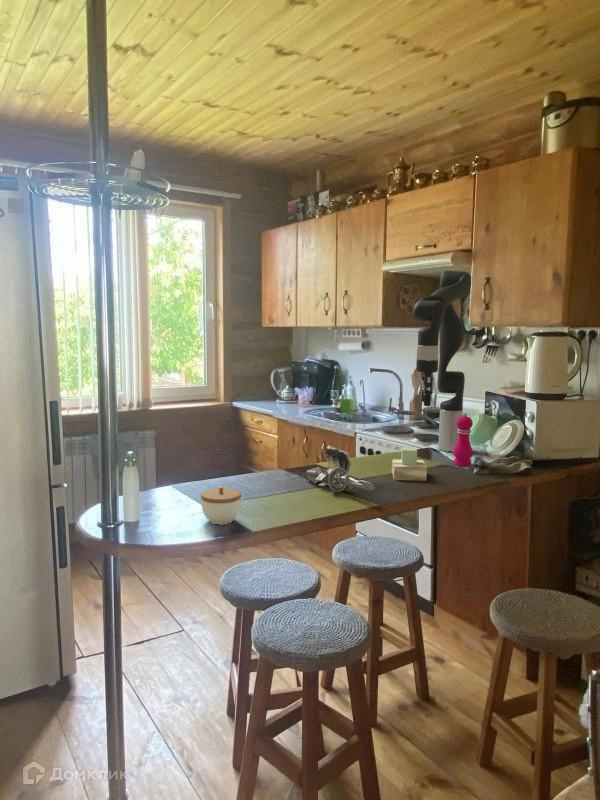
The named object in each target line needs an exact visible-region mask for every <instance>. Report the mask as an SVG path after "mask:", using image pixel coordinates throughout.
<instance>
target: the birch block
mask: <svg viewBox="0 0 600 800" xmlns="http://www.w3.org/2000/svg"><path fill="white" fill-rule="evenodd" d="M427 471H428V467H427V465H426V463H425V461H424V459H417V465H402V462H401V458H399V459H397V458H392V461H391V473H392V477H393V480H394V481H396V480H397V481H421V482H423V481H424V482H426V481H427V476H428V475H427V473H428V472H427Z"/></svg>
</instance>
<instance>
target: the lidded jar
mask: <svg viewBox="0 0 600 800" xmlns="http://www.w3.org/2000/svg"><path fill="white" fill-rule="evenodd" d="M200 495H201V496H200V498H201V509H202V513H203V515H204V517H205V518H206V519H207V520H209V523H210V522H211V523H210V524H212V523H213V524H212V525H215V524H219V525H218V526H223V524H225V525H229V524H232V523H233V522H232V521H234V520H235V519H237V518H236V517H238V515H239V513H240V509H241V505H242V492H241V491H240V490H238V489H236V488H231V487H230V488H229V487H223V486H219V487H218V488H210V489H207V490H204V491H203V492H201V493H200ZM231 522H232V523H231ZM228 523H229V524H228Z"/></svg>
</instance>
